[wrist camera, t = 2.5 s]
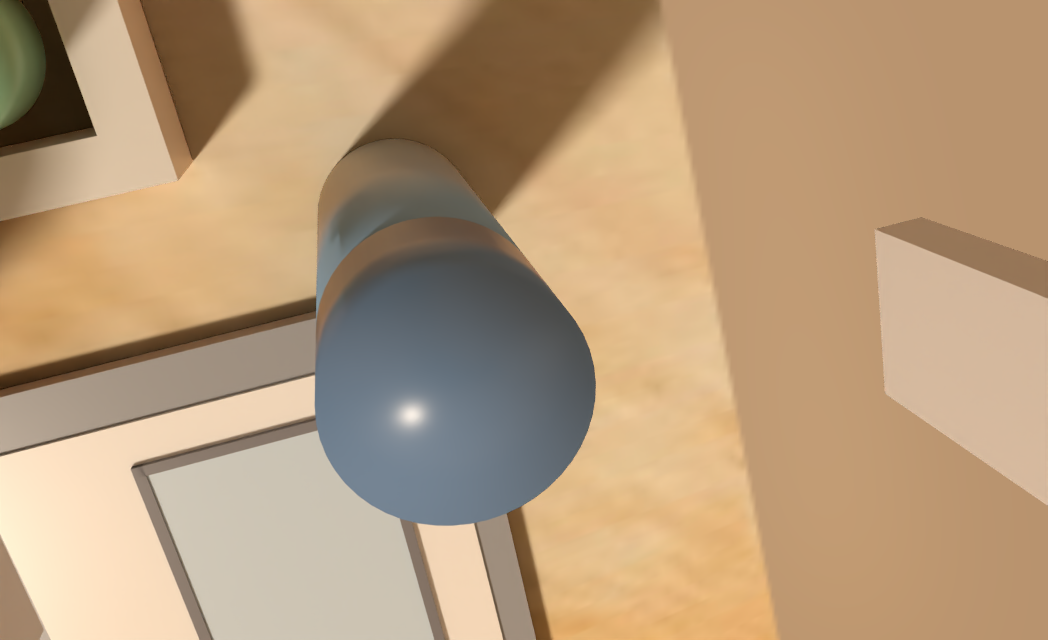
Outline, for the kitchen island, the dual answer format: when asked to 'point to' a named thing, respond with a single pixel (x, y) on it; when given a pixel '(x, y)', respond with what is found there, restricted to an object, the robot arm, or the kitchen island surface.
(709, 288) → the kitchen island surface
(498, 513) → the grey-blue cylinder
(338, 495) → the picture board
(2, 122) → the button
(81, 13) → the button housing
